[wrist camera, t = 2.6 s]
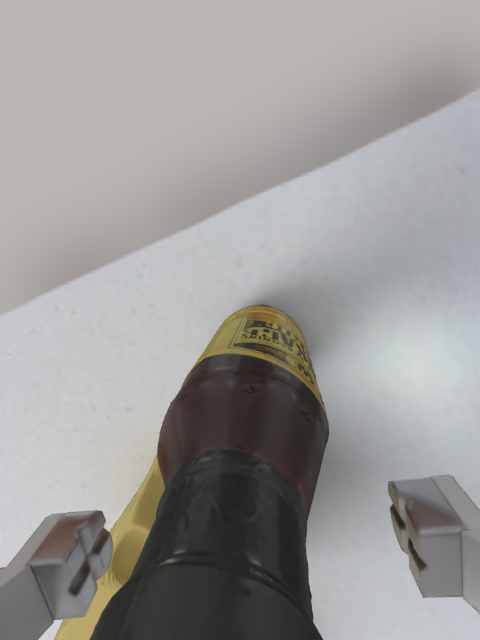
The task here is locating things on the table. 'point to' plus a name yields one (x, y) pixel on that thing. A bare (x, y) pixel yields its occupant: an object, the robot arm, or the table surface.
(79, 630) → the cheese
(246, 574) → the sauce bottle
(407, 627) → the table surface
